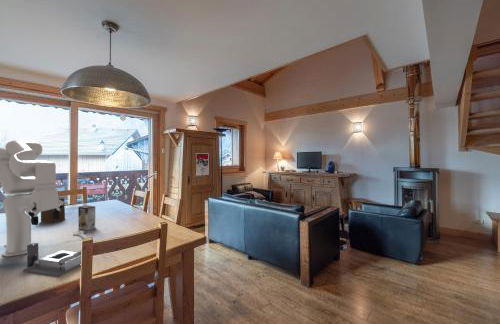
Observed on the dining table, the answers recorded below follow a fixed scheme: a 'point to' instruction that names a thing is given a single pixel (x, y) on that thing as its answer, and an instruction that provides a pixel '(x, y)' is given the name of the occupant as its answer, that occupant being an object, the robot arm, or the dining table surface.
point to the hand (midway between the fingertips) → (45, 221)
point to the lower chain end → (37, 264)
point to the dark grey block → (32, 254)
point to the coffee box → (86, 217)
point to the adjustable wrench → (80, 234)
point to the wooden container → (48, 214)
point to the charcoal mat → (47, 271)
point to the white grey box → (62, 259)
